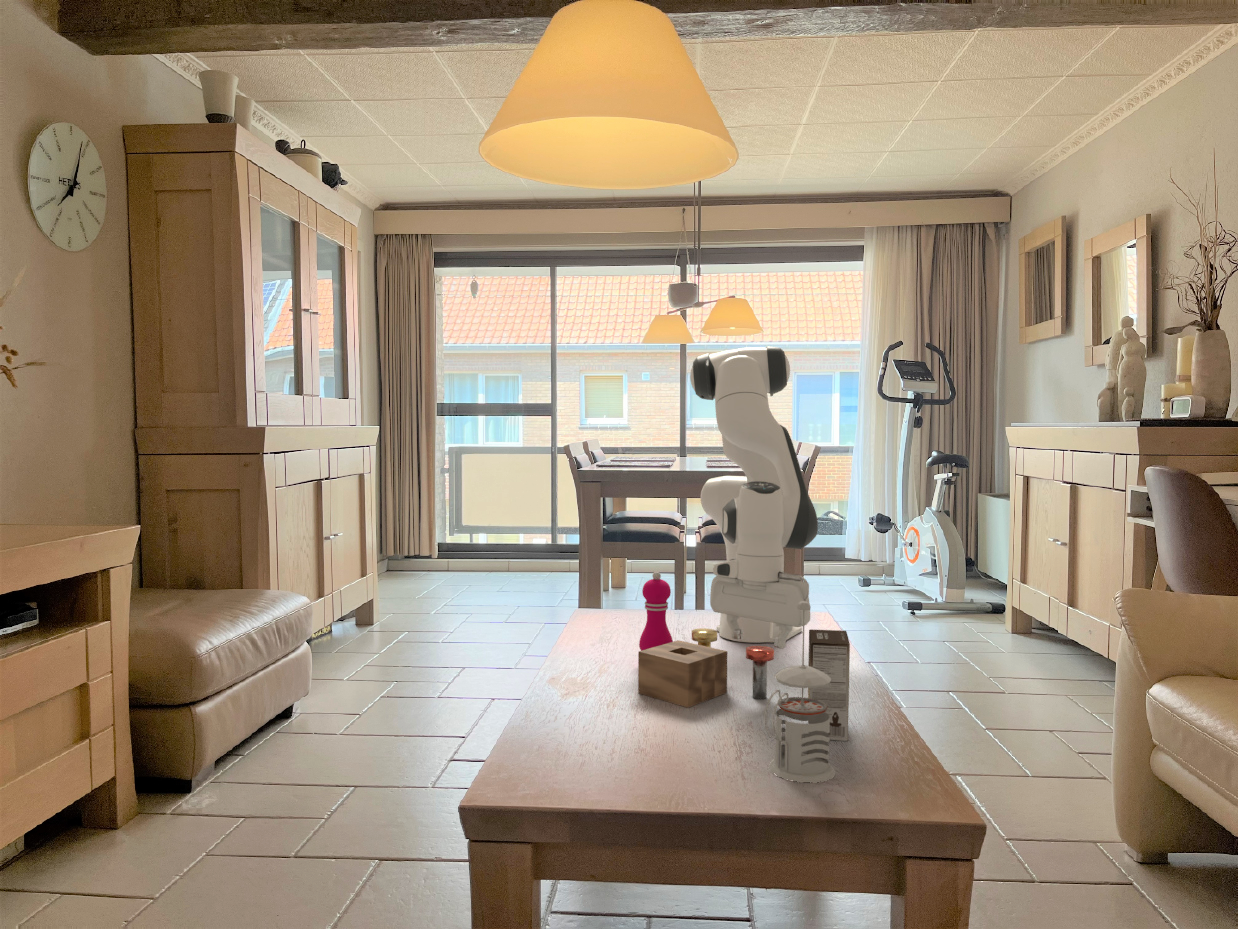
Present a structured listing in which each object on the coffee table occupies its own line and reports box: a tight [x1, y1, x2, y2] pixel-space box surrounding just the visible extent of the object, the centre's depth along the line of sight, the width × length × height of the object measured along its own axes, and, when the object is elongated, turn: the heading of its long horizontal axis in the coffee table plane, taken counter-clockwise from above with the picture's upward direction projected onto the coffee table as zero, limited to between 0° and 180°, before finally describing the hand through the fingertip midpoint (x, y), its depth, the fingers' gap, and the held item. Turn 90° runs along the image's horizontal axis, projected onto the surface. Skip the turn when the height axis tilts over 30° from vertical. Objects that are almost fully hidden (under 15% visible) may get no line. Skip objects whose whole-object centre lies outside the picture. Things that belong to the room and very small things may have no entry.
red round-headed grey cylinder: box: [745, 645, 775, 700], centre depth 157 cm, size 5×5×9 cm
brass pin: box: [691, 627, 718, 648], centre depth 171 cm, size 5×5×9 cm
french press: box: [764, 601, 837, 784], centre depth 123 cm, size 10×12×25 cm
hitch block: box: [637, 639, 728, 709], centre depth 159 cm, size 12×12×8 cm
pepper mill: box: [638, 571, 674, 651], centre depth 178 cm, size 7×7×20 cm
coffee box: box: [807, 629, 851, 742], centre depth 139 cm, size 9×6×16 cm
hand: (758, 643), depth 156 cm, fingers open, 8 cm apart
